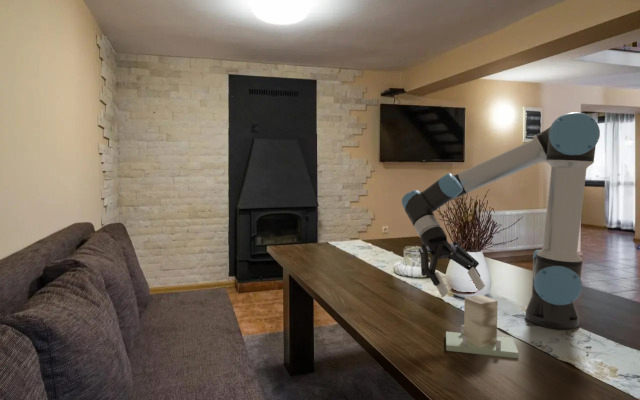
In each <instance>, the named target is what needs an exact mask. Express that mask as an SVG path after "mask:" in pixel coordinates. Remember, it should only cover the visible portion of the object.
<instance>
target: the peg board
mask: <svg viewBox="0 0 640 400" xmlns="http://www.w3.org/2000/svg"><path fill="white" fill-rule="evenodd" d="M460 330H461V331H460V332H455V331H445V349H446V351H447V352H456V353H465V354H472V355H483V356H492V357H493V356H494V357H501V358H510V359H511V358H512V359H519V355H520V354H519V351H518V348H517V346H516V342H515V341H514V338H513V337H507V336H498V335H497V340H496V344H493V345H489V346H484V347H478V346H476V345H474V344H472V343H470V342H468V341H467V337H466V336H464V324H461V327H460Z"/></svg>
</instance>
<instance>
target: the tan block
mask: <svg viewBox="0 0 640 400" xmlns="http://www.w3.org/2000/svg"><path fill="white" fill-rule="evenodd" d="M498 302H499V301H498V300H497V299H493V298H492V297H489V296H486V295H483V294H479V295H472V296H465V297H464V310H463V311H464V312H463V313H464V318H463V325H464V336H466V337H467V341H468V342H470V343H472V344H474V345H476V346H478V347H484V346H489V345H493V344H496V340H497V336H498V304H499V303H498Z"/></svg>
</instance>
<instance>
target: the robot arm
mask: <svg viewBox="0 0 640 400" xmlns="http://www.w3.org/2000/svg"><path fill="white" fill-rule="evenodd" d="M600 132H601V130H600V126H599V124H598V122H597V121H596V119H595V118H593V117H592V116H591V115H588V114H587V113H584V112H579V111H578V112H569V113H565V114H562V115H560V116H559V117H557V118H556V119H554V121H553V122H552V123H551V125H550V127H548V128H547V129H545V130H543V131H541V132H540V133H539V132H538V133H537V134H534V135H533V137H532V139H531V140H529V141H528V142H525V143H522V144H521V145H518V146H516V147H513V148H511V149H510V150H507V151H505V152H503V153H501V154H498V155H496V156H494V157H492V158H489V159H487V160H485V161H483V162H481V163H479V164H477V165H474V166H472V167H470V168H467V169H466V170H463V171H461V172H459V173H457V174H453V173H451V172H450V173H445V174H444V175H443V176H442V177H440V178H439V179H437V180H436V181H435V182H434V183H432V184H431V185H430V186H428V187H427V188H426V189H425V190H423V191H420V190H417V189H414V190H411V191H409V192H407V193H406V194H404V195H403V197H402V199H401V205H402V207H403V210H404V212H405V214H406V215H407V217H408V218H409V220H410V222H411V223H412V225H413V228H414V229H415V231H416V234H417V235H418V236H419V238H420V241H421V242H422V245H421V246H420V247H419V248H418V252H419V254H420V269H421V271H420V272H421V276H423V277H424V276H425V277H426V279H430V280H431V282H432V285H433V286H434V287H436V288H437V290H438V293H439V294H440V296H441V297H442V298H444V297H446V295H448V293H449V292H450V291H449V289H448V288H447V285H446V284H445V283H444V280H443V278H442V276H441V275H440V273H439V272H438V271H436V270H437V264H438V262H439V260H442V259H448V260H452V262H453V261H454V262H455V263H456V264H458V265H460V266H461V267H463V268H464V269H465V270H467V274H468V276H469V277H470V279H471V281H473V283H474V284H475V286H476V288H477V289H478V291H477V292H480V291H482V290H483V289H484V288H485V287H486V285H485V283H484V281H483V280H482V278H481V275H480V272H479V271H478V269H477V267H478V266H479V265H480V263H479V261H478V260H476V259H475V258H474V257H473V256H472V255H470V253H468V251H466V250H465V249H464V248H463V247H462V246H461V245H460V244H459V242H458V241H456V240H455V241H453V242H452V243H450V242H449V241H448V238H447V234H446V232H445V231H444V229H443V228H442V226H441V224H440V222H439V221H438V219H437V218H436V216H435V214H434V213H435V212H436V211H437V210H438V209H440V208H441V207H444V206H445V205H446V204H448V203H449V202H451V201H453V200H456V199H458V198H460V197H462V196H464V195H467V194H468V193H471V192H474V191H476V190H478V189H481V188H483V187H486V186H489V185H490V184H492V183H496V182H497V181H501V179H505V178H507V177H510V176H512V175H514V174H516V173H518V172H522V171H523V170H525V169H528V168H530V167H533V166H535V165H538V164H540V163H543V162H545V163H548V165H549V166H550V167H551V169H550V170H551V171H550V177H549V178H550V179H549V186H548V187H549V188H548V197H547V198H548V199H547V206H546V207H547V208H546V209H547V210H546V214H545V215H546V218H545V225H544V226H545V227H544V233H543V235H544V236H543V245H542V248H541V249H536V250H534V251H533V254H532V287H531V288H532V289H531V290H532V291H531V292H532V293H531V298H530V299H529V302H528V304H527V307H526V309H525V319H526V320H527V321H528V322H529V323H532V324H535V325H537V326H541V327H545V328H549V329H555V330H557V329H558V330H572V329H576V328H578V327H579V325H580V317H579V313H578V310H577V307H576V305H575V301H576V300H577V299H578V298H580V296H581V293H582V290H583V282H582V279H581V278H582V277H581V276H582V270H583V269H582V267H583V257H581V256H580V254H579V253H578V246H579V239H580V238H579V237H580V229H581V222H582V221H581V220H582V212H583V203H584V202H583V201H584V195H585V194H584V193H585V185H586V176H587V169H588V168H589V167H590V166H591V165H593V164H594V162H595V155H596V146H597V144H598V142H599V140H600V137H601V133H600ZM429 254H431V256H430V263H429Z"/></svg>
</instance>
